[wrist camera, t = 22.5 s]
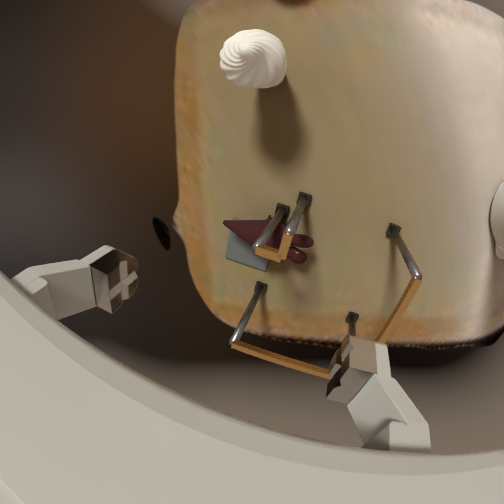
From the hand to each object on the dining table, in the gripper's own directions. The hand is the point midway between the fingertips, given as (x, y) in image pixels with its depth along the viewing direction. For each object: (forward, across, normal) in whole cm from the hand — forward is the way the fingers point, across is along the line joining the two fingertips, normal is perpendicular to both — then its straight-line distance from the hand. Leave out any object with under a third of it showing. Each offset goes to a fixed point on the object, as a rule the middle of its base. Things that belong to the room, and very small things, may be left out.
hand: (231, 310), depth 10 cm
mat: (+37, +7, +16) cm, 41 cm away
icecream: (+33, +12, +12) cm, 37 cm away
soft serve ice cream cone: (+37, +10, -14) cm, 41 cm away
